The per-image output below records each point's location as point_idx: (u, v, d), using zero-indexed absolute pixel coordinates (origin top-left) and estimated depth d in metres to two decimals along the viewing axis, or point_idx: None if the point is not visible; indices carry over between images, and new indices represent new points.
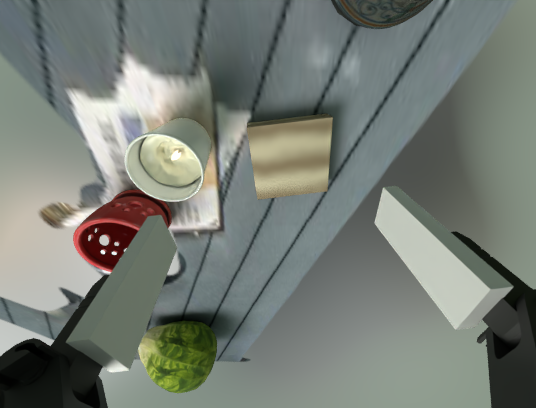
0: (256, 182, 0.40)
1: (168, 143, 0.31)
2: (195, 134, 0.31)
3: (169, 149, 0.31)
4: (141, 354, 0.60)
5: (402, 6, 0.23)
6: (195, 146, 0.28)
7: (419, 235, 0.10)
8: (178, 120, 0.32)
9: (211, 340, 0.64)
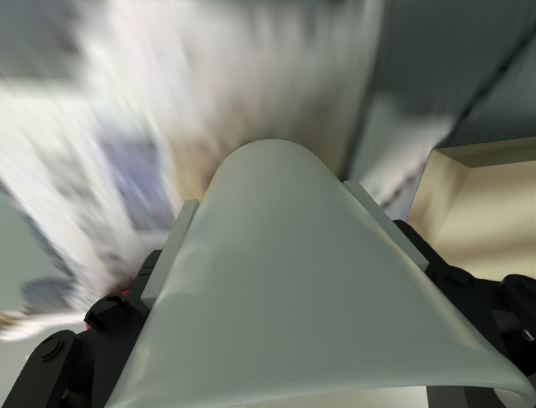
0: None
1: None
2: (367, 211, 0.08)
3: None
4: None
5: None
6: None
7: None
8: (282, 152, 0.10)
9: None
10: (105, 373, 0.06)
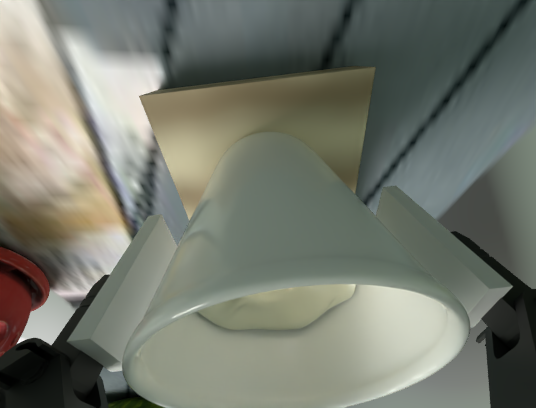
0: None
1: None
2: None
3: None
4: None
5: None
6: None
7: (418, 235, 0.10)
8: (278, 142, 0.11)
9: None
10: None
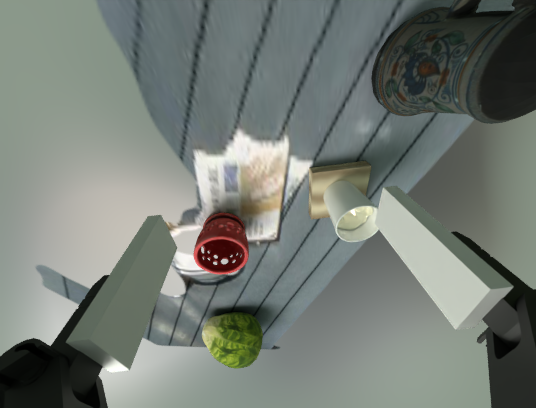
0: (312, 207, 0.55)
1: None
2: None
3: None
4: (205, 338, 0.76)
5: (424, 112, 0.38)
6: None
7: (419, 235, 0.10)
8: (348, 185, 0.48)
9: (259, 327, 0.80)
10: None
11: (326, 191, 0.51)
